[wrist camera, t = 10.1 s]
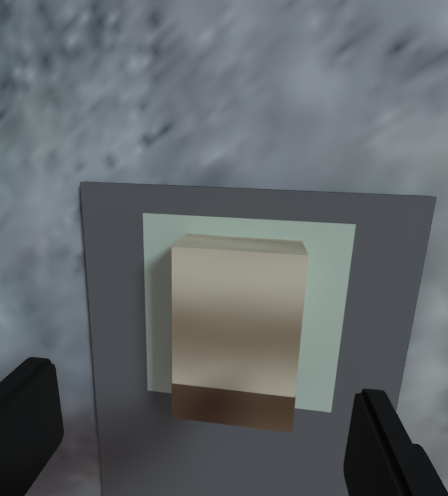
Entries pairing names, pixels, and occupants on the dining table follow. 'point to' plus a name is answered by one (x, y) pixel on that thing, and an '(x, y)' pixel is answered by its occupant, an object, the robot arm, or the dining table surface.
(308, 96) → the dining table surface
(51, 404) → the robot arm
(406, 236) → the mat
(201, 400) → the wooden block
